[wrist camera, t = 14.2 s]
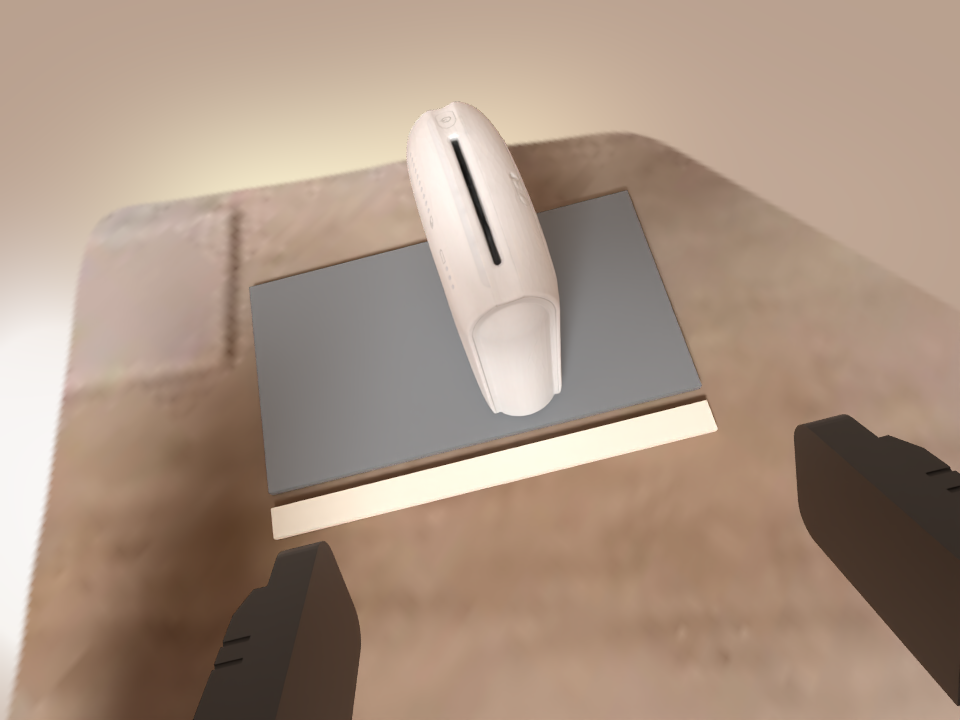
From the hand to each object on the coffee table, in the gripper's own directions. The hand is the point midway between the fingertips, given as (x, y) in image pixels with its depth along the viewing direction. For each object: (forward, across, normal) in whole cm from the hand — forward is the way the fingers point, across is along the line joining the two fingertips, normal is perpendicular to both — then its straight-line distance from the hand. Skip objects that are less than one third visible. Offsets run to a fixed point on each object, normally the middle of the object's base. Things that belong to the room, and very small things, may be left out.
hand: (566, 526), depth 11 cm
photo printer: (+24, 0, +5) cm, 24 cm away
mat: (+23, +2, +6) cm, 24 cm away
